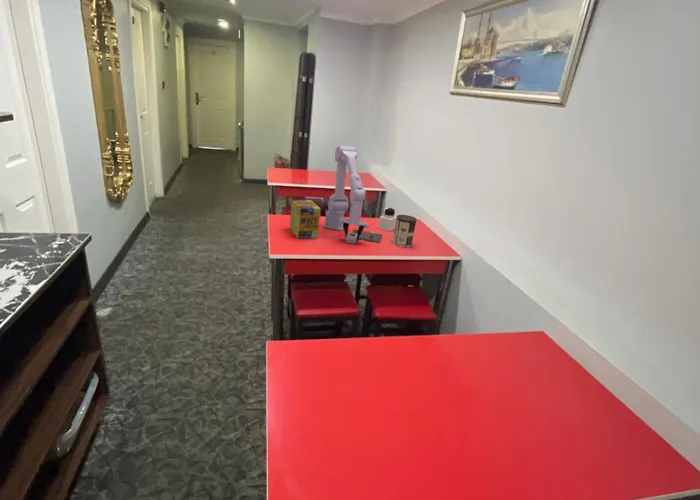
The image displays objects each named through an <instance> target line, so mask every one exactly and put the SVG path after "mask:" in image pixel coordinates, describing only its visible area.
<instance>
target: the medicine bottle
mask: <svg viewBox="0 0 700 500" xmlns="http://www.w3.org/2000/svg"><path fill="white" fill-rule="evenodd" d="M395 211H396V210H395V209H394V208H392V207H385V208H384V209H383V214H382V215H381V216H379V222H378V229H380V230H383V231H385V232H390V231H393V230H395V225H396V219H397V216H395V213H396V212H395Z"/></svg>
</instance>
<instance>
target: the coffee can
mask: <svg viewBox="0 0 700 500" xmlns="http://www.w3.org/2000/svg"><path fill="white" fill-rule="evenodd" d="M417 220H418V219H417V218H416V217H414V216H411V215H408V214H397V215H396V223H395V228H394V229H393V230H394V231H393V237H392V241H391V242H392V244H394V245H396V246H398V247H403V248H410V247H412V246H413V245H412V243H413V239H414V233H415V230H416V229H415V228H416V225H417Z"/></svg>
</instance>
